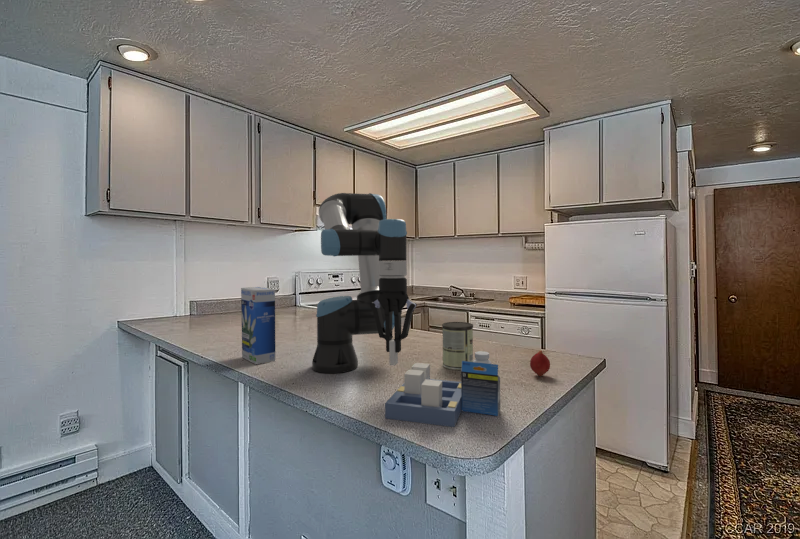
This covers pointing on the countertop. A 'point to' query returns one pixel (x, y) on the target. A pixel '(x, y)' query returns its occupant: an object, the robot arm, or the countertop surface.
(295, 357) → the countertop surface
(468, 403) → the label tape box
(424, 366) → the tab far
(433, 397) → the tab near
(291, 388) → the countertop surface
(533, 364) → the onion
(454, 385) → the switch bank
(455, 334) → the coffee can
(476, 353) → the supplement bottle
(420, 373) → the tab middle
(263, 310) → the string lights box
